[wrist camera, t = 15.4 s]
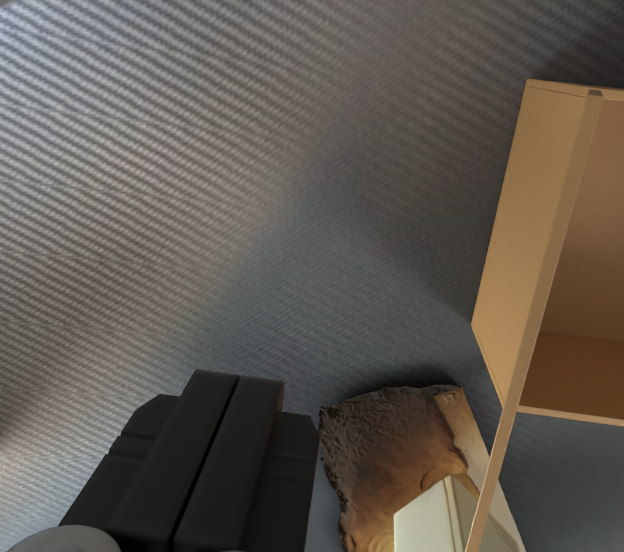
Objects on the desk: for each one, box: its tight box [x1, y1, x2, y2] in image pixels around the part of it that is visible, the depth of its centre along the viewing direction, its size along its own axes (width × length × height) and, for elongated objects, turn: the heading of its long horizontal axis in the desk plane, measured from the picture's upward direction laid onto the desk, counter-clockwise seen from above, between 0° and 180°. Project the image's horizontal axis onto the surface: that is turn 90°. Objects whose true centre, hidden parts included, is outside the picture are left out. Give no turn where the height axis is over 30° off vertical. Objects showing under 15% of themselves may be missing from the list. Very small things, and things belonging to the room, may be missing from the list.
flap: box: [465, 89, 604, 552], centre depth 16 cm, size 7×12×1 cm
